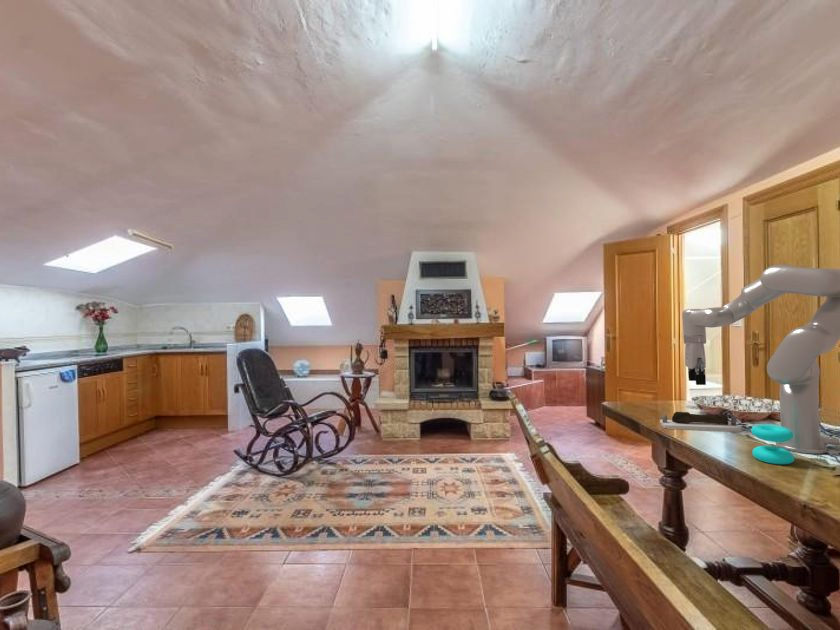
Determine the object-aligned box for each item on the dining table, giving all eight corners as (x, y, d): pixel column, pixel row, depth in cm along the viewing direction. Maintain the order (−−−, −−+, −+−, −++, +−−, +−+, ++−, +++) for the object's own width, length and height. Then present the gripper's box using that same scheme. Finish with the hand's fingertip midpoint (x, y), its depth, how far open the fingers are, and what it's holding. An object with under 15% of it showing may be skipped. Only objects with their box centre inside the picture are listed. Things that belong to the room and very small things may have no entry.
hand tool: (725, 423, 163) (724, 411, 163) (729, 425, 159) (728, 413, 160) (670, 421, 170) (670, 410, 170) (673, 423, 166) (672, 412, 166)
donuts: (801, 433, 122) (761, 432, 124) (802, 466, 122) (763, 465, 124) (781, 423, 131) (744, 423, 134) (782, 455, 131) (746, 453, 134)
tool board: (732, 425, 164) (732, 414, 164) (741, 432, 156) (741, 420, 156) (659, 423, 173) (659, 412, 173) (664, 428, 164) (664, 417, 164)
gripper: (678, 338, 174) (680, 379, 174) (690, 341, 157) (692, 386, 157) (698, 338, 171) (701, 379, 171) (713, 341, 155) (715, 386, 155)
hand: (697, 382), depth 164 cm, fingers open, 9 cm apart
